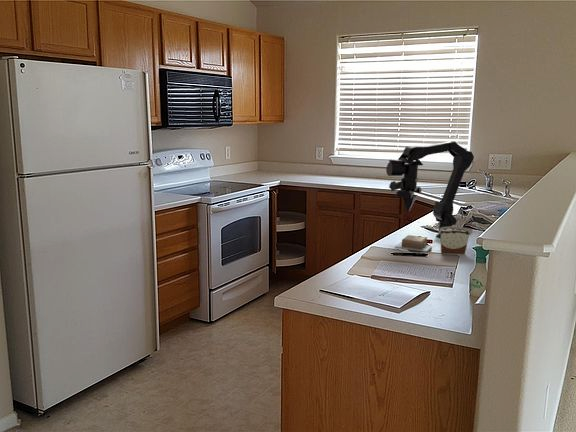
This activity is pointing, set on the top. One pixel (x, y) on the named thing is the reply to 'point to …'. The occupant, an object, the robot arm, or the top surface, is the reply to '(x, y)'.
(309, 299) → the top surface
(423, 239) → the wooden block
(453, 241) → the food container
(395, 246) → the board
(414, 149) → the robot arm
